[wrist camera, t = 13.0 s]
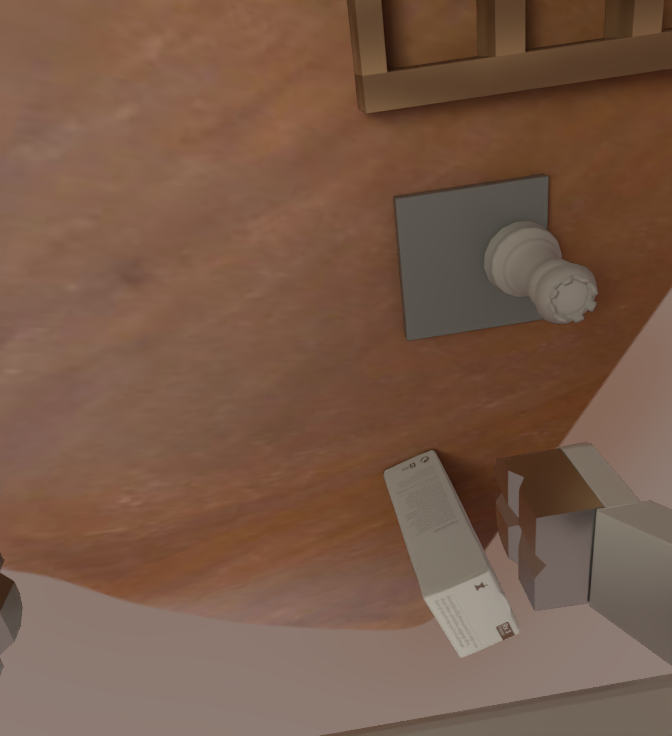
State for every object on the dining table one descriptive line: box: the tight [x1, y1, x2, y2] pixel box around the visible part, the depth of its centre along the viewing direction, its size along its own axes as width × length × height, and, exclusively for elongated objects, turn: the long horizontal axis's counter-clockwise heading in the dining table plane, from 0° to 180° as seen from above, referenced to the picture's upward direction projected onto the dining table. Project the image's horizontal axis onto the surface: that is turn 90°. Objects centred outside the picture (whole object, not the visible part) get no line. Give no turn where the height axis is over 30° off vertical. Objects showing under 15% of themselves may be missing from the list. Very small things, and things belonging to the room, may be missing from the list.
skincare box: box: [384, 450, 521, 657], centre depth 42 cm, size 6×4×12 cm
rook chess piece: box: [484, 221, 598, 324], centre depth 35 cm, size 4×4×8 cm
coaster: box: [393, 174, 548, 341], centre depth 39 cm, size 9×9×1 cm
